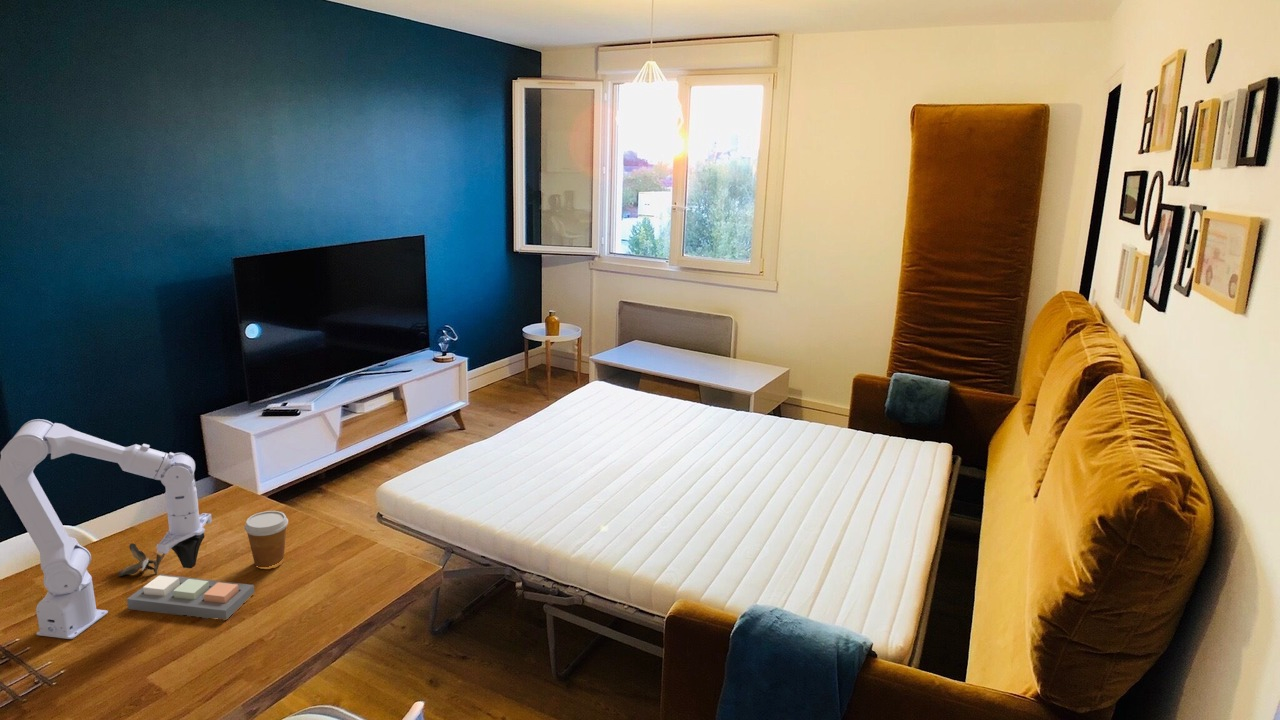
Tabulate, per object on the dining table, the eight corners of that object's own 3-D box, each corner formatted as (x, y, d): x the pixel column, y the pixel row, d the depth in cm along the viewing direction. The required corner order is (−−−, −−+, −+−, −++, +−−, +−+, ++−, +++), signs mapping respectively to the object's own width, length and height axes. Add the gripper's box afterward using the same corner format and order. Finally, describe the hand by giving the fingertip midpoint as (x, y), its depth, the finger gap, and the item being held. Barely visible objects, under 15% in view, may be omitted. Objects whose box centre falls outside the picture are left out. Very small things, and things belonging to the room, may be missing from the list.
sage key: (195, 603, 161) (194, 593, 160) (174, 601, 161) (173, 590, 161) (209, 591, 166) (208, 581, 165) (189, 589, 166) (188, 578, 165)
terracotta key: (225, 607, 161) (224, 596, 160) (204, 604, 161) (203, 594, 160) (239, 594, 165) (238, 584, 164) (218, 592, 166) (217, 582, 165)
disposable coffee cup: (239, 565, 179) (235, 521, 176) (274, 549, 187) (271, 506, 184) (264, 578, 175) (261, 532, 171) (299, 560, 183) (296, 516, 180)
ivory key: (165, 600, 162) (163, 589, 161) (144, 597, 162) (143, 587, 161) (180, 587, 166) (179, 577, 166) (160, 585, 167) (159, 575, 166)
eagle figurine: (171, 557, 178) (133, 549, 178) (164, 544, 173) (124, 536, 172) (154, 586, 173) (114, 579, 172) (145, 574, 168) (105, 565, 167)
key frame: (226, 620, 158) (225, 610, 158) (128, 609, 160) (126, 598, 159) (254, 594, 168) (253, 585, 167) (161, 583, 170) (160, 574, 169)
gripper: (176, 528, 151) (183, 586, 154) (222, 497, 165) (227, 551, 168) (144, 524, 151) (151, 582, 155) (192, 494, 165) (198, 548, 169)
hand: (189, 566), depth 162 cm, fingers closed
